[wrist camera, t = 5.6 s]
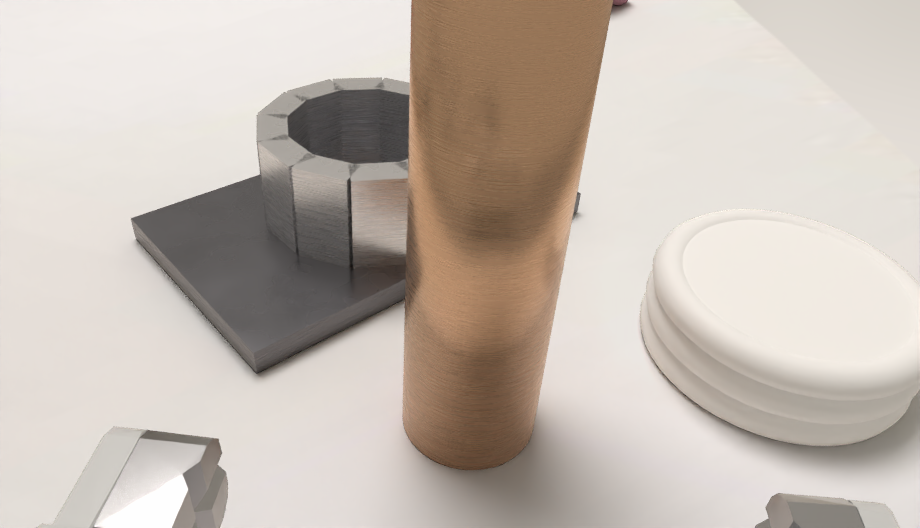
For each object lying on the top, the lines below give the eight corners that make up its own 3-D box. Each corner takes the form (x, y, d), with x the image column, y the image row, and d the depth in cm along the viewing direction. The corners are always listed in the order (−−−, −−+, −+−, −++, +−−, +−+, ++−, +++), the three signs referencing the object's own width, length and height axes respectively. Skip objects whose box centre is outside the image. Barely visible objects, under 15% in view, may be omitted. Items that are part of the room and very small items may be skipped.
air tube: (463, 494, 22) (531, -132, 12) (375, 407, 25) (368, -175, 14) (560, 422, 25) (687, -150, 14) (471, 350, 27) (525, -184, 17)
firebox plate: (256, 373, 26) (239, 259, 23) (135, 238, 31) (109, 132, 28) (577, 211, 35) (595, 115, 32) (440, 129, 41) (444, 41, 38)
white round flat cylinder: (587, 305, 30) (602, 234, 28) (763, 249, 34) (788, 183, 32) (770, 496, 23) (808, 423, 21) (964, 398, 27) (1013, 328, 25)
